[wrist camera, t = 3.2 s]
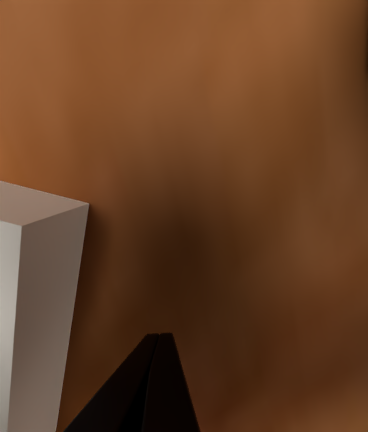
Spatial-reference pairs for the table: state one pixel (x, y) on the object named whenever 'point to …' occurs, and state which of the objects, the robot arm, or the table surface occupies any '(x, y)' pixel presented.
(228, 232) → the table surface
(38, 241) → the white rectangular block
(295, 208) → the table surface
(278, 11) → the table surface
